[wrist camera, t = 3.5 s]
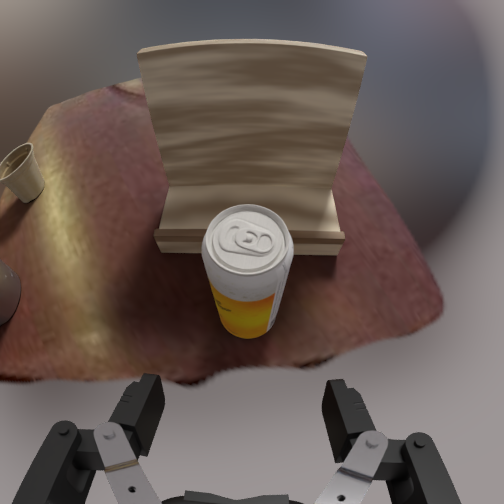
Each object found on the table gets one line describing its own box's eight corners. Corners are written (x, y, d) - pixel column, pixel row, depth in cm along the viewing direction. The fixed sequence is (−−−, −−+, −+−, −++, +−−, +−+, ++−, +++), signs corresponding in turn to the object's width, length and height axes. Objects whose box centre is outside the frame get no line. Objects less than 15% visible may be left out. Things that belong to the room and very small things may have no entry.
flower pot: (9, 213, 38) (-13, 184, 31) (27, 177, 43) (9, 149, 36) (40, 207, 39) (17, 174, 31) (58, 170, 44) (40, 137, 36)
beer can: (230, 282, 32) (219, 191, 20) (281, 297, 32) (304, 212, 19) (212, 330, 30) (183, 263, 17) (266, 347, 29) (282, 293, 16)
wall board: (337, 255, 34) (405, 98, 16) (161, 252, 34) (96, 95, 15) (325, 192, 40) (362, 51, 21) (175, 190, 40) (141, 48, 21)
